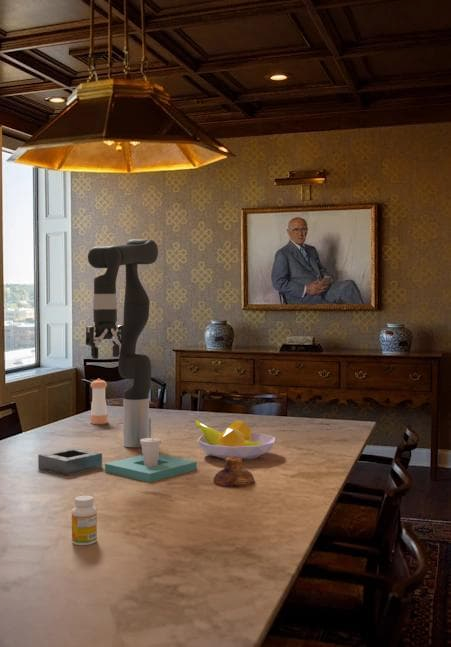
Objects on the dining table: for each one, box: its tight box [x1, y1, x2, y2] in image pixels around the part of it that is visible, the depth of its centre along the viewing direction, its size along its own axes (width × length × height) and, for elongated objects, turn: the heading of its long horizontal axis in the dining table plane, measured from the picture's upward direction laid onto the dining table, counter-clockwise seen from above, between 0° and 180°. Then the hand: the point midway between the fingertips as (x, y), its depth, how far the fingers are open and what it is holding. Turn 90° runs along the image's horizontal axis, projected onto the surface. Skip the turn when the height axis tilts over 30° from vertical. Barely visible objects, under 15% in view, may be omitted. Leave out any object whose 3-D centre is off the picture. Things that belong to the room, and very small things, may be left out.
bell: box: [213, 457, 255, 488], centre depth 205 cm, size 12×12×7 cm
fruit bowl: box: [194, 419, 276, 461], centre depth 240 cm, size 28×27×11 cm
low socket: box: [104, 453, 198, 483], centre depth 219 cm, size 20×20×2 cm
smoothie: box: [140, 425, 162, 467], centre depth 219 cm, size 6×6×14 cm
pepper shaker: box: [90, 378, 109, 425], centre depth 305 cm, size 7×7×19 cm
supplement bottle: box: [71, 495, 98, 547], centre depth 155 cm, size 5×5×10 cm
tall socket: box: [37, 447, 103, 477], centre depth 223 cm, size 14×14×4 cm
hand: (105, 357), depth 231 cm, fingers open, 8 cm apart
